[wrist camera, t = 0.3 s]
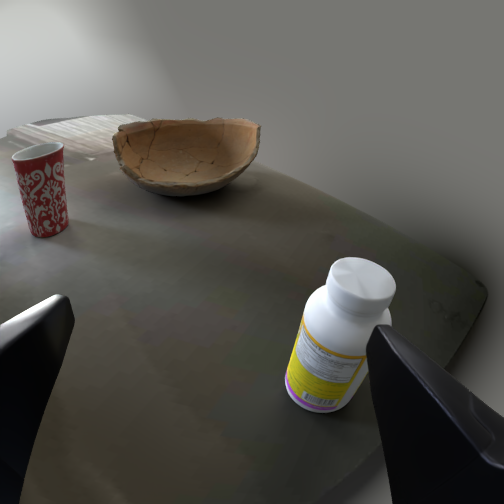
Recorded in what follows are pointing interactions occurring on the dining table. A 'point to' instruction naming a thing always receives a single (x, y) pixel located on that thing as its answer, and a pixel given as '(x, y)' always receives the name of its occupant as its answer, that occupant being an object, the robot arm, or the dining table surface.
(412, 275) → the dining table surface
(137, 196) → the dining table surface
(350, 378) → the supplement bottle
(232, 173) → the ceramic bowl
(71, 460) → the dining table surface
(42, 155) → the mug
